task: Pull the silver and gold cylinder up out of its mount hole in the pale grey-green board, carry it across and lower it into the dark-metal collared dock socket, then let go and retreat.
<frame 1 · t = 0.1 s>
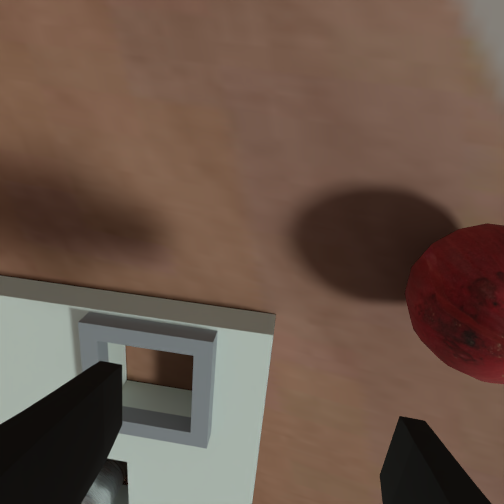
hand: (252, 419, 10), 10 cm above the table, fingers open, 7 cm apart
board: (134, 420, 24), on the table
onion: (451, 262, 18), on the table
silver and gold cylinder: (106, 455, 25), resting in board
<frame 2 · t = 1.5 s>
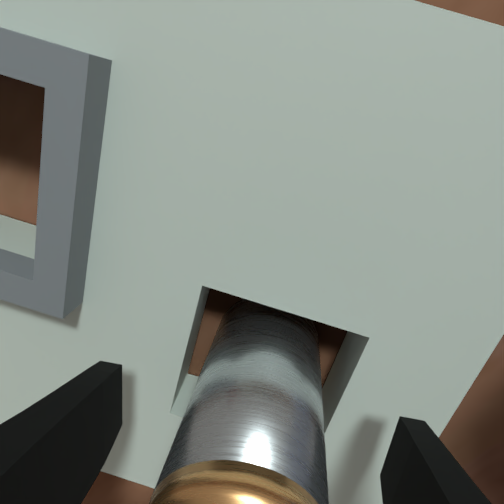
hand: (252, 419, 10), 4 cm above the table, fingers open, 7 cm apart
board: (182, 260, 13), on the table
silver and gold cylinder: (267, 340, 13), resting in board
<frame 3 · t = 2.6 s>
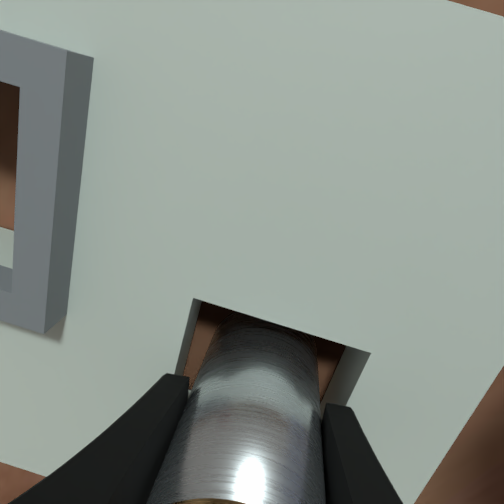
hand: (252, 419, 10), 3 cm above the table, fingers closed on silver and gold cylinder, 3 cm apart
board: (174, 268, 12), on the table
silver and gold cylinder: (263, 353, 13), resting in board, touching gripper
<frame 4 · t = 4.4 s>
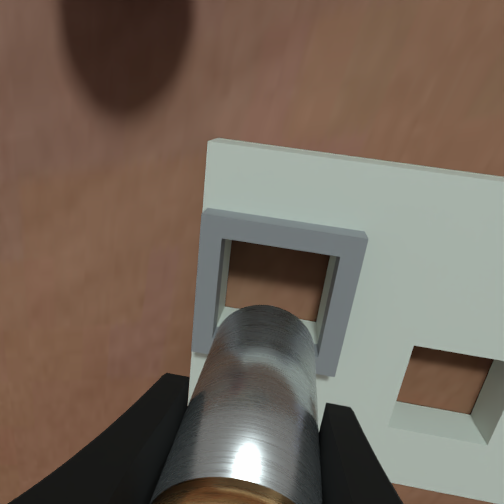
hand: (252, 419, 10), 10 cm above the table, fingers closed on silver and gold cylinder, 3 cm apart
board: (378, 325, 19), on the table
silver and gold cylinder: (263, 349, 13), point 6 cm above the table, touching gripper
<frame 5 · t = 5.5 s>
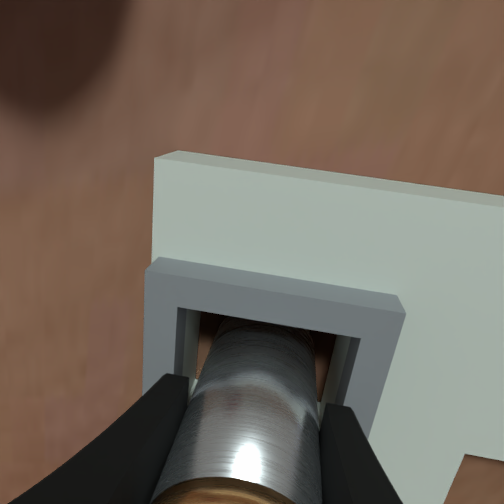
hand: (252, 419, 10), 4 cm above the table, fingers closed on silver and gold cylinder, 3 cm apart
board: (408, 409, 14), on the table
silver and gold cylinder: (263, 349, 13), resting in board, touching gripper
when the fingers open (4 cm above the table, at t = 6.2 s): silver and gold cylinder stays where it is, resting in board.
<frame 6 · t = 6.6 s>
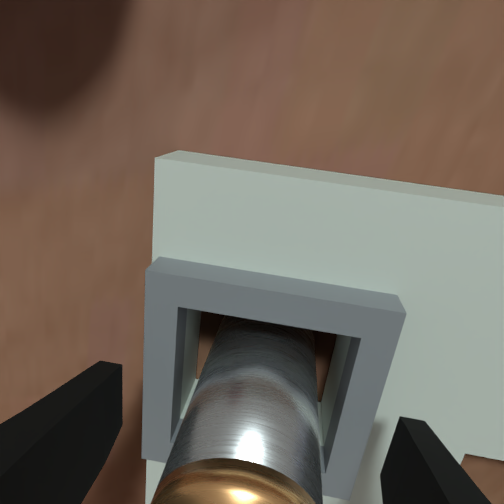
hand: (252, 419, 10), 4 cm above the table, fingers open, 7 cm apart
board: (408, 409, 14), on the table
silver and gold cylinder: (265, 343, 14), resting in board
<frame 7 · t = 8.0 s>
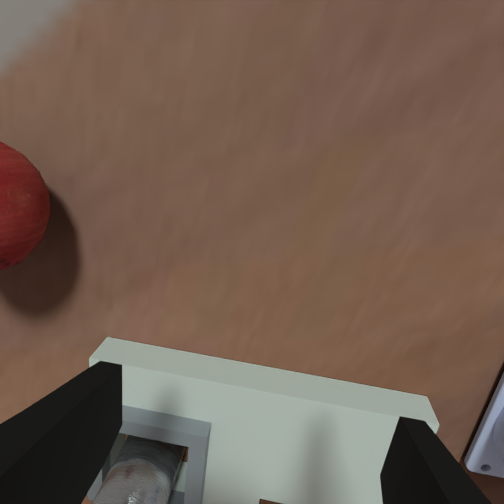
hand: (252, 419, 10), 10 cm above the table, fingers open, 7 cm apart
board: (245, 469, 24), on the table
onion: (32, 188, 19), on the table
silver and gold cylinder: (162, 431, 24), resting in board
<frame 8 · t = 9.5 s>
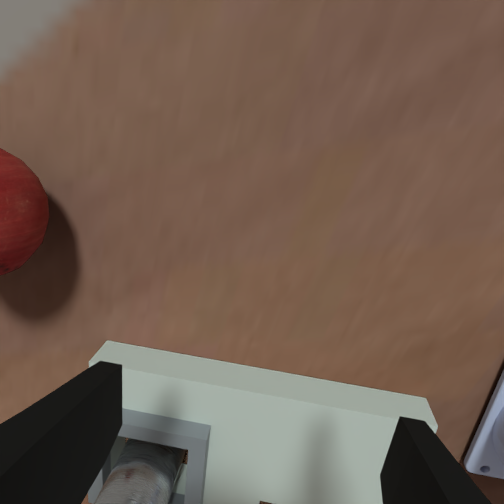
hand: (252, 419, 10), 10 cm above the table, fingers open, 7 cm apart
board: (245, 471, 24), on the table
onion: (31, 193, 20), on the table
silver and gold cylinder: (162, 434, 24), resting in board
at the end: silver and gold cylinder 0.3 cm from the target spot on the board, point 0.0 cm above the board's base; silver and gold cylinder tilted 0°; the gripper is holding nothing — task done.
